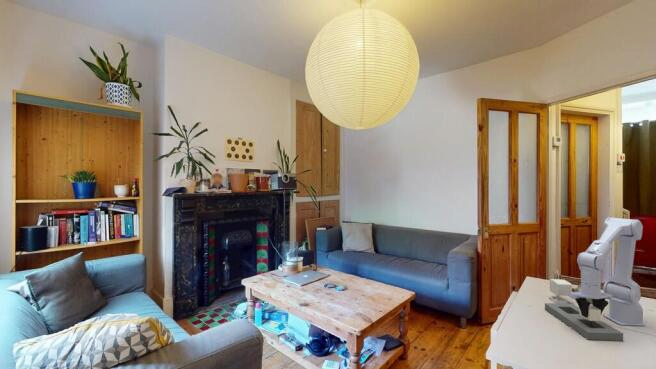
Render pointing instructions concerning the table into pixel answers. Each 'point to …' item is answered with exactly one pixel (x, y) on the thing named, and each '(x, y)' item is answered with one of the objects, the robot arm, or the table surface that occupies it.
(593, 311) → the plug
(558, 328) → the table surface
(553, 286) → the security camera
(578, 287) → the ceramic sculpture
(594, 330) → the socket board
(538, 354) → the table surface
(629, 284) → the robot arm
